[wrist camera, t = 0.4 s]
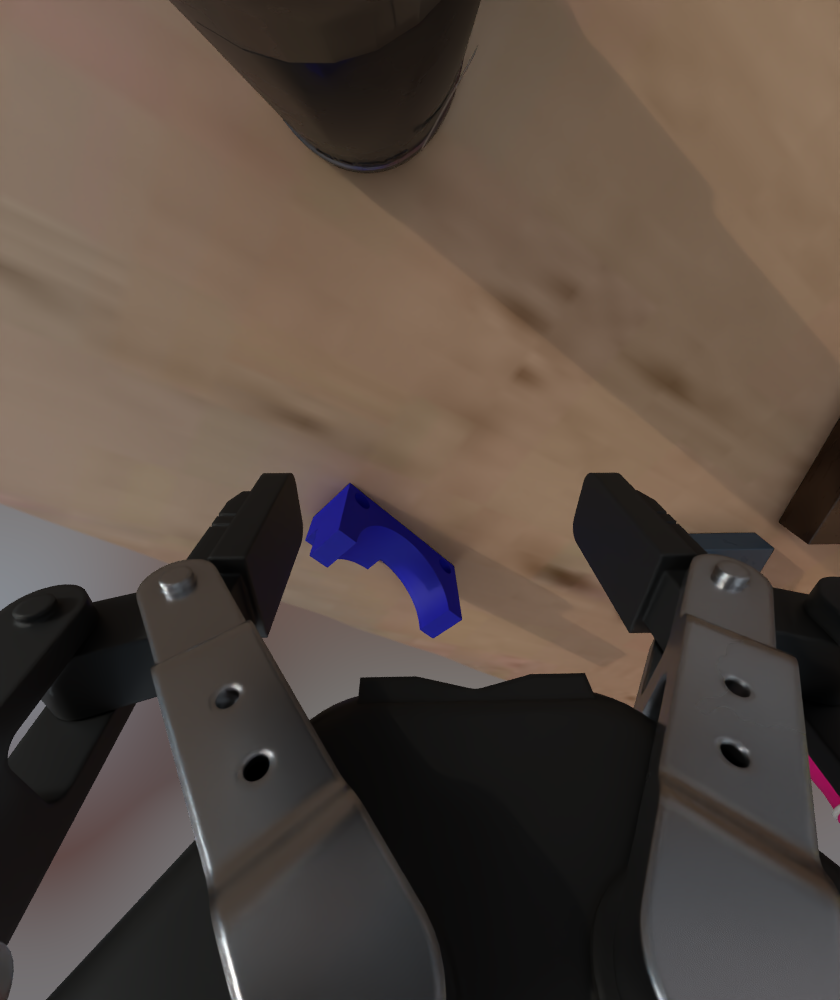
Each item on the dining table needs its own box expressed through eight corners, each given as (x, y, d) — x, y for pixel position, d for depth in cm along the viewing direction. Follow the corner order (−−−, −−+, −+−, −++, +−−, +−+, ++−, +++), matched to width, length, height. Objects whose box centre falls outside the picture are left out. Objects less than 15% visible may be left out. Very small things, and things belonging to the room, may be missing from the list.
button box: (651, 533, 34) (678, 565, 31) (755, 532, 34) (793, 563, 31) (620, 615, 39) (640, 649, 36) (709, 613, 40) (738, 647, 36)
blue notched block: (313, 517, 32) (295, 567, 27) (350, 482, 31) (338, 529, 25) (417, 592, 37) (419, 647, 32) (454, 566, 35) (462, 619, 30)
